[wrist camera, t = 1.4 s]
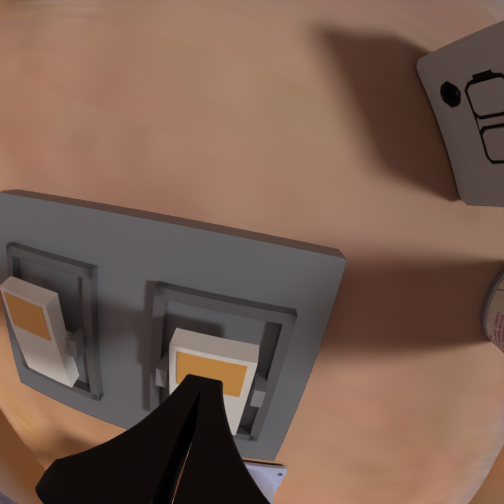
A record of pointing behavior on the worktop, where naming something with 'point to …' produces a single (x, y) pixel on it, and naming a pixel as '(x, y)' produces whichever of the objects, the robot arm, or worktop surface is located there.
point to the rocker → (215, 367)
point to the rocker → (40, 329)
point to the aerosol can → (494, 312)
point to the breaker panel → (168, 304)
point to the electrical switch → (471, 111)
